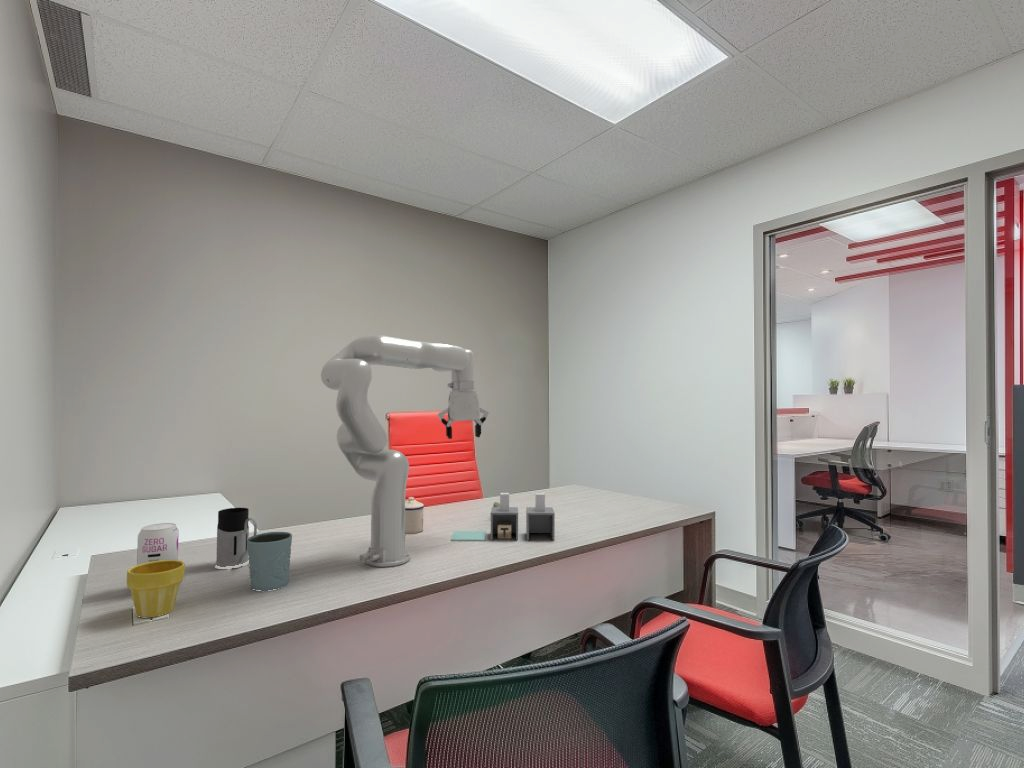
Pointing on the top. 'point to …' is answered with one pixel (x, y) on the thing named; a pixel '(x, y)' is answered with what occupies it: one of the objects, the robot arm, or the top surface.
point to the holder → (233, 536)
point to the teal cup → (269, 560)
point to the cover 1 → (504, 515)
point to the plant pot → (155, 586)
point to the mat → (468, 536)
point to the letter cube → (504, 529)
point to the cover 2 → (540, 517)
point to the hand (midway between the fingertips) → (463, 437)
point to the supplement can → (157, 543)
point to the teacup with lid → (413, 516)
